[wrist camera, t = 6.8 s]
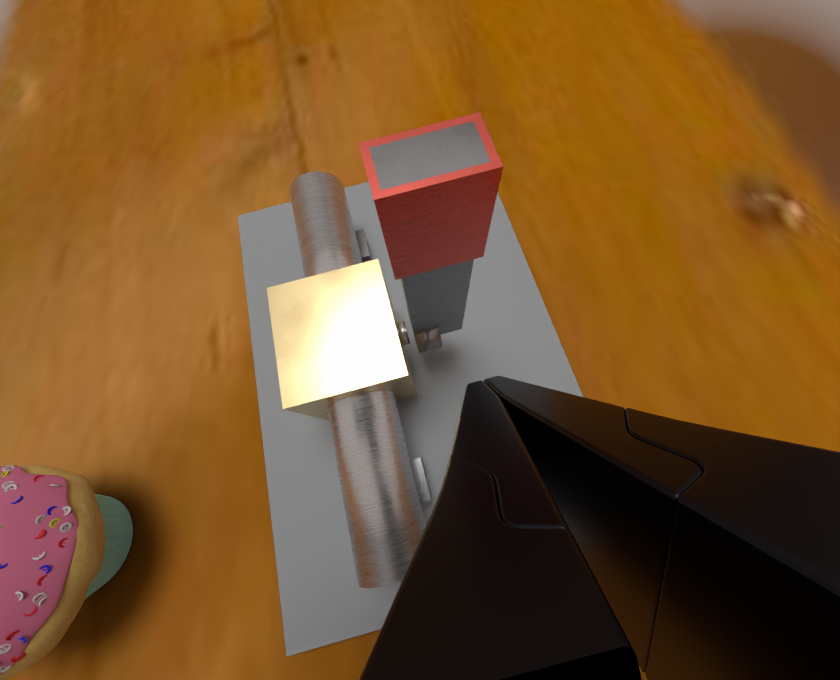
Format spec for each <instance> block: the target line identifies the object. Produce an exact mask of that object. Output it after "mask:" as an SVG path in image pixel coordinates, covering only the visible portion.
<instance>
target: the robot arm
mask: <svg viewBox="0 0 840 680" xmlns="http://www.w3.org/2000/svg"><path fill="white" fill-rule="evenodd" d="M639 666H640V668H641V669H642V671H643V672H646V673H645V675H646V677H647V679H648V680H840V452H836V451H831V450H826V449H821V448H816V447H811V446H806V445H800V444H795V443H790V442H785V441H780V440H775V439H770V438H765V437H759V436H754V435H749V434H744V433H739V432H734V431H729V430H724V429H719V428H714V427H709V426H704V425H699V424H694V423H689V422H685V421H680V420H675V419H671V418H667V417H663V416H658V415H654V414H650V413H646V412H642V411H638V410H634V409H630V408H626V409H624V408H623V407H620V406H616V405H612V404H608V403H604V402H600V401H597V400H593V399H589V398H585V397H581V396H577V395H573V394H569V393H565V392H561V391H557V390H554V389H550V388H546V387H542V386H538V385H534V384H530V383H526V382H522V381H518V380H514V379H510V378H507V377H503V376H494V377H490V378H487V379H485V380H484V381H482V380H480V381H476V382H472V383H469V384H468V385H467V387H466V391H465V395H464V399H463V404H462V408H461V412H460V416H459V420H458V425H457V429H456V433H455V437H454V441H453V445H452V450H451V454H450V458H449V460H448V464H447V468H446V472H445V476H444V479H443V482H442V486H441V489H440V492H439V494H438V497H437V500H436V502H435V505H434V507H433V510H432V512H431V515H430V517H429V519H428V522H427V524H426V526H425V529H424V531H423V533H422V535H421V538H420V540H419V542H418V545H417V547H416V549H415V552H414V554H413V556H412V559H411V561H410V563H409V566H408V568H407V570H406V573H405V575H404V577H403V579H402V582H401V584H400V586H399V589H398V591H397V593H396V596H395V598H394V600H393V603H392V605H391V607H390V610H389V612H388V614H387V616H386V619H385V621H384V623H383V626H382V628H381V630H380V633H379V635H378V637H377V640H376V642H375V644H374V647H373V649H372V651H371V654H370V656H369V658H368V660H367V663H366V665H365V667H364V670H363V672H362V674H361V677H360V679H359V680H641V675H640V670H639Z"/></svg>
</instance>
